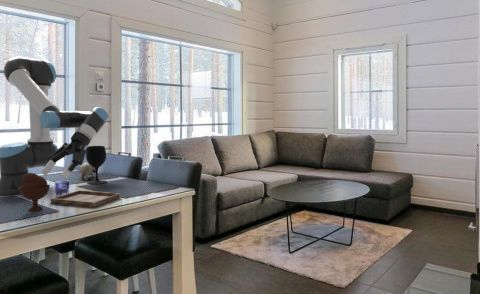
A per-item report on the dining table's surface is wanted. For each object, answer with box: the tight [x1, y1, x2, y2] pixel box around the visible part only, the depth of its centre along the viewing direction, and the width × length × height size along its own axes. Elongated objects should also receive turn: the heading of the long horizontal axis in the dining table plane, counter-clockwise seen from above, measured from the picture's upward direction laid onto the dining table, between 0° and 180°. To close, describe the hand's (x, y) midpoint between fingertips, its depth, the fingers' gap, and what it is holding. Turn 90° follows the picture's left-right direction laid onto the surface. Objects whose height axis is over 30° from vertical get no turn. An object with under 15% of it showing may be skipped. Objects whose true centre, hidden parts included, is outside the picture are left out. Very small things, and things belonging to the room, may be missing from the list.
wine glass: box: [85, 145, 108, 186], centre depth 205 cm, size 10×10×20 cm
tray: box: [50, 189, 121, 209], centre depth 165 cm, size 22×18×2 cm
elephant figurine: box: [78, 162, 95, 181], centre depth 218 cm, size 8×14×15 cm
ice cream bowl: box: [19, 172, 51, 213], centre depth 149 cm, size 11×11×15 cm
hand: (53, 175), depth 153 cm, fingers open, 13 cm apart
